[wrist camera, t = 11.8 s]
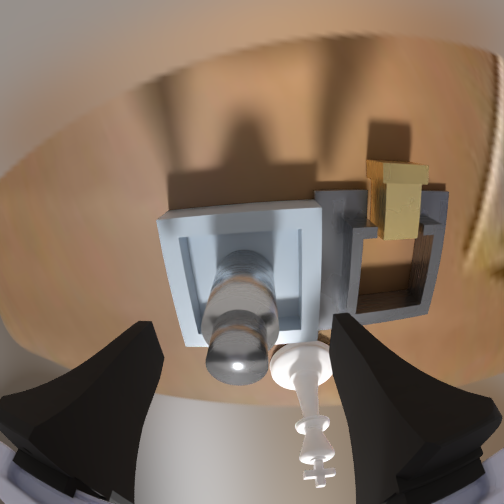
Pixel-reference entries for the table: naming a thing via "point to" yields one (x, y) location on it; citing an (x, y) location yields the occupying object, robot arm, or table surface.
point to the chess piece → (307, 400)
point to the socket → (350, 257)
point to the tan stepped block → (396, 197)
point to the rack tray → (246, 238)
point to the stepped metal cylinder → (241, 318)
